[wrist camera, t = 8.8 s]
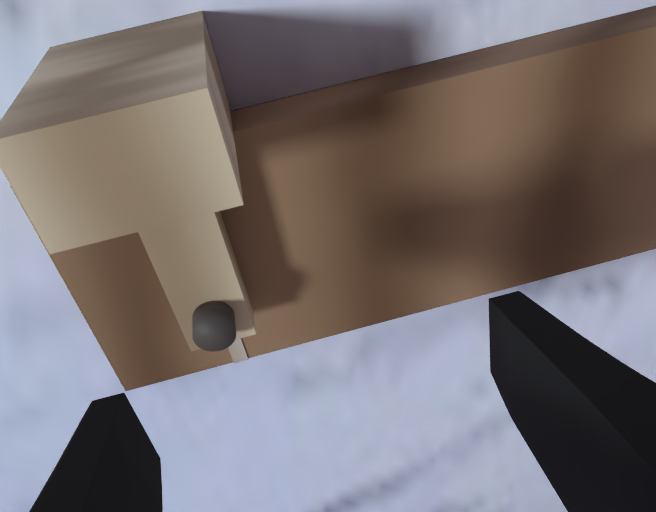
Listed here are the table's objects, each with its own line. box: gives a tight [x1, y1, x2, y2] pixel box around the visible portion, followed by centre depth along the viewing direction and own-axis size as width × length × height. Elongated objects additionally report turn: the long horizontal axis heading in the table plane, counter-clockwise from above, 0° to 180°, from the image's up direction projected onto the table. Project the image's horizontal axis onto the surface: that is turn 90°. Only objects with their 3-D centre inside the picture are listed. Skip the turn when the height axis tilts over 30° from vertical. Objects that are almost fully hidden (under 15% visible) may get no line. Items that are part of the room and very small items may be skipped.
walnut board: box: [11, 6, 656, 391], centre depth 19 cm, size 20×8×2 cm, turn 100°
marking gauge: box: [0, 11, 256, 352], centre depth 16 cm, size 4×8×6 cm, turn 10°
